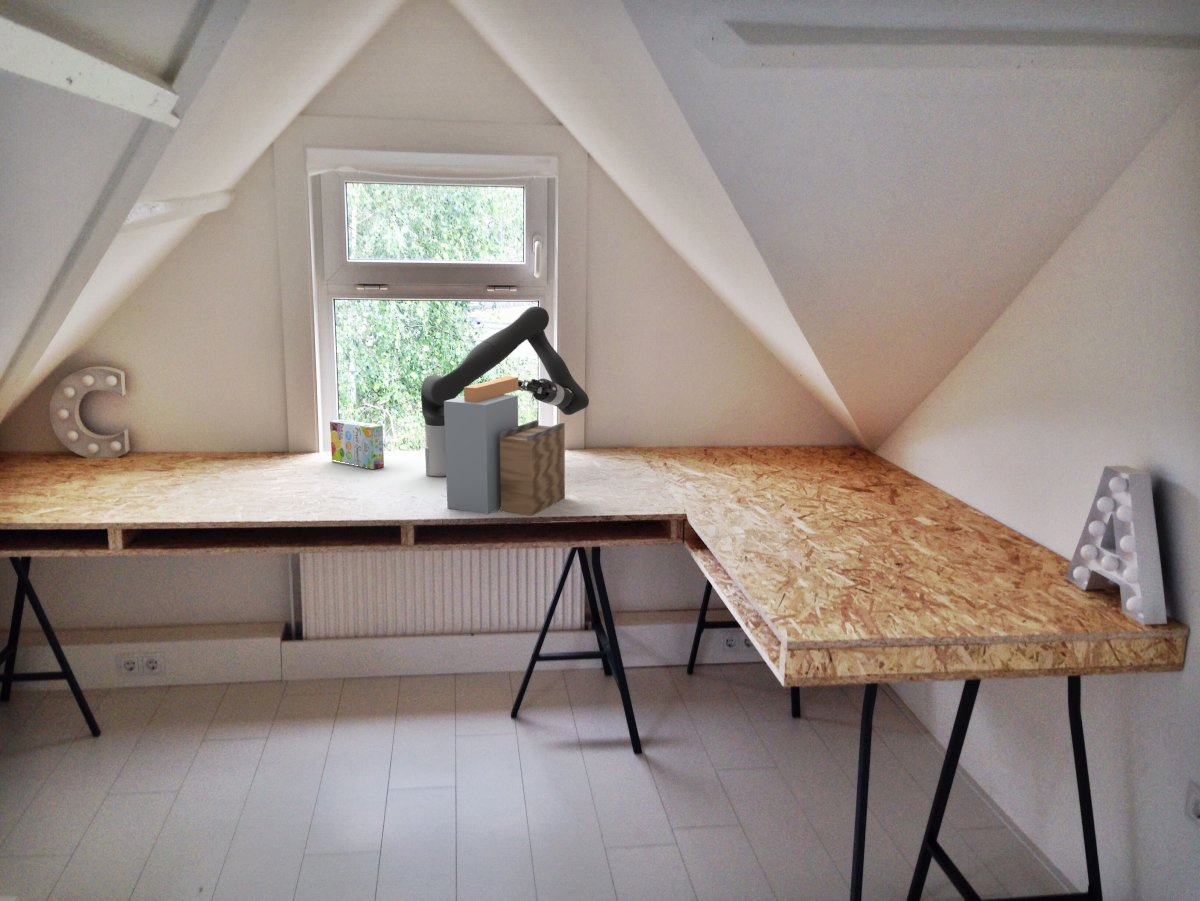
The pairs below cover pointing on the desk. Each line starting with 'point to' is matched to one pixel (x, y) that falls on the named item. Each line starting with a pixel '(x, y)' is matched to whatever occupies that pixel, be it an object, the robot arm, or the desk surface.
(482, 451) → the grey tall rectangular block
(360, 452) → the snack box
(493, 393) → the rail
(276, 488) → the desk surface
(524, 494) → the wood grain block
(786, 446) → the desk surface
